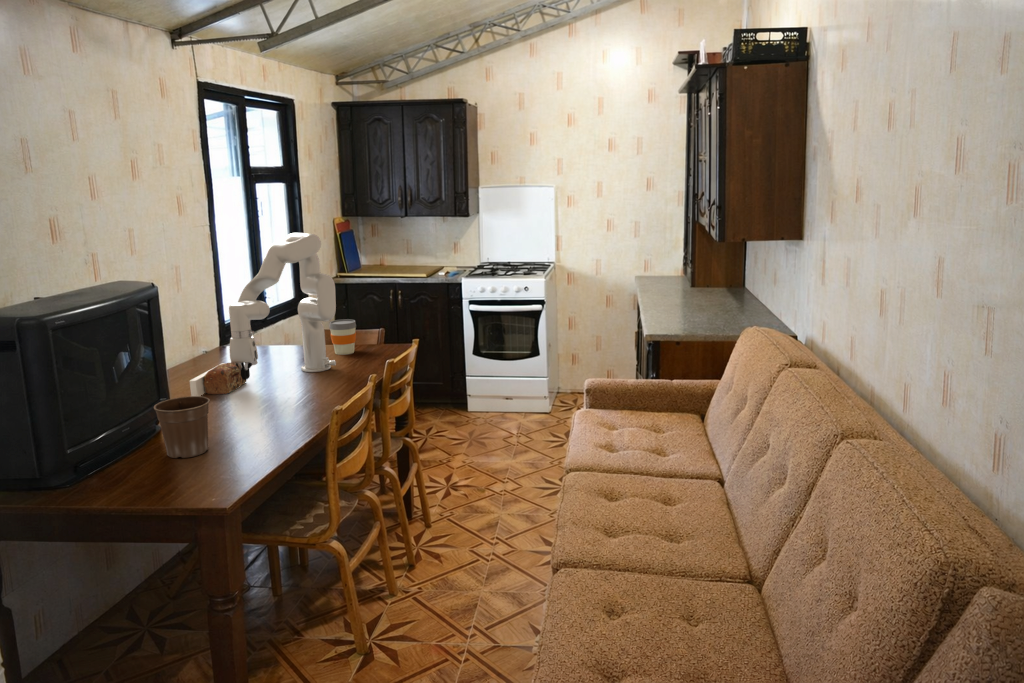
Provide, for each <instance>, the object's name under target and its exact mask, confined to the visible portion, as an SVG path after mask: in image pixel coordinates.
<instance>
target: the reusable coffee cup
mask: <svg viewBox="0 0 1024 683" xmlns="http://www.w3.org/2000/svg"><path fill="white" fill-rule="evenodd" d="M356 328H357V324H356V320H355V319H349V318H347V319H344V318H343V319H336V320H330V321H329V330H330V340H331V343H332V344H333V349H334V353H335V354H336V355H339V356H340V355H341V356H342V355H352V354H354V352H355V345H356V344H355V343H356V340H357V332H356Z"/></svg>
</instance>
